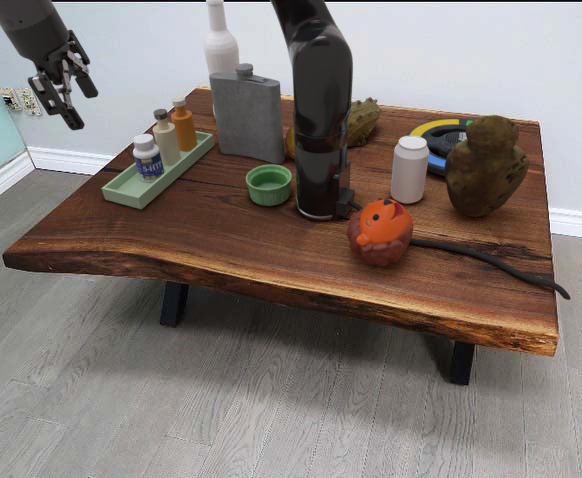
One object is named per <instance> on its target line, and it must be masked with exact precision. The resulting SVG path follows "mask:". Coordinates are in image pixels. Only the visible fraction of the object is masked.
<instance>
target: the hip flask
mask: <svg viewBox="0 0 582 478" xmlns="http://www.w3.org/2000/svg"><path fill="white" fill-rule="evenodd" d="M235 70H236V72H237V74H234V73H212V74H210V75H209V74H208V79H209V86H210V93H211V99H212V107H213V106H214V111H213V114H214V113H215V116H214V119H215V125H216V132H217V138H218V145H219V151H220V153H221V154H225V155H234V156H241V157H242V156H243V157H249V158H253V159H257V160H261V161H265V162H268V163H271V164H273V165H280V164H283V163H284V162H285V161H286V158H285V157H286V156H285V138H284V126H283V109H282V93H281V82H280V81H279V80H276V79H273V78H269V77H264V76H260V75H257V74H254V65H253V64H252V63H248V62H247V63H246V62H244V63H239V64H238V65H236V66H235Z"/></svg>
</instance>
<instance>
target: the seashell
mask: <svg viewBox="0 0 582 478" xmlns="http://www.w3.org/2000/svg"><path fill="white" fill-rule="evenodd" d="M377 103H378V99H376V98H375V99H373V98H372V97H371V96H368V97H367V98H365V100H364V101H361V100H359V99H358V100H355V101H354V102H353V101H352V102H351V111H350V114H349V116H348V139H347V147H350V148H351V147H358V146H359V147H360V146H365V144H366V143H367V138H368V137H370V134H371V132H372V131H373V130H374V129H375V124H376V123H377V121H378V120H379V119H380V116H381V112H382V111H383V110H382V109H381V108H380V107H379V105H378V104H377Z"/></svg>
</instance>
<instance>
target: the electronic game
mask: <svg viewBox="0 0 582 478" xmlns="http://www.w3.org/2000/svg"><path fill="white" fill-rule="evenodd" d="M474 120H475V119H472V118H471V119H470V118H461V117H445V118H443V117H442V118H436V119H431V120H427V121H424V122H421V123H419V124H417V125H416V126H414V127H413V128H411V129H410V130H409V131H408V132H407V133H406V134H405V136H409V135H414V136H419V137H422V138H424V139H425V140H426V142H427V147H428V149H429V158H428V164H427V171H428V172H429V173H432V174H436V175H438V176H442V177H445V173H444V169H445V162H446V158H447V155H448V154H449V153H450V152H451V151H452V149H453V148H454V147H455V146H456V144H458V143H459V142H462V141H464V140H466V139H467V137H466V132H465V128H466V127H467V126H468V125H469V124H470V123H471V122H472V121H474ZM515 145H516V146H517V143H516V144H515ZM432 151H433V152H437V153H438V155H436V154H435V153H433V152H432Z"/></svg>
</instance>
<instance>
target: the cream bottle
mask: <svg viewBox="0 0 582 478" xmlns="http://www.w3.org/2000/svg"><path fill="white" fill-rule="evenodd" d="M152 113H153V118H154V120H156V125H154V126H153V127H152V133H153V138H154V142H155V144H156V145H157V146H158V147H159V150H160V155H161V159H162V163H163V165H165V166H173V165H175V164H176V163H177V162H178V161H180V160H181V159H182V158H181V153H180V148H179V144H178V139H177V134H176V129H175V125H174V124H172V122H169V121H168V118H169V113H168V110H167V109H166V108H157V109H155V110H154V111H153V112H152Z"/></svg>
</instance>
